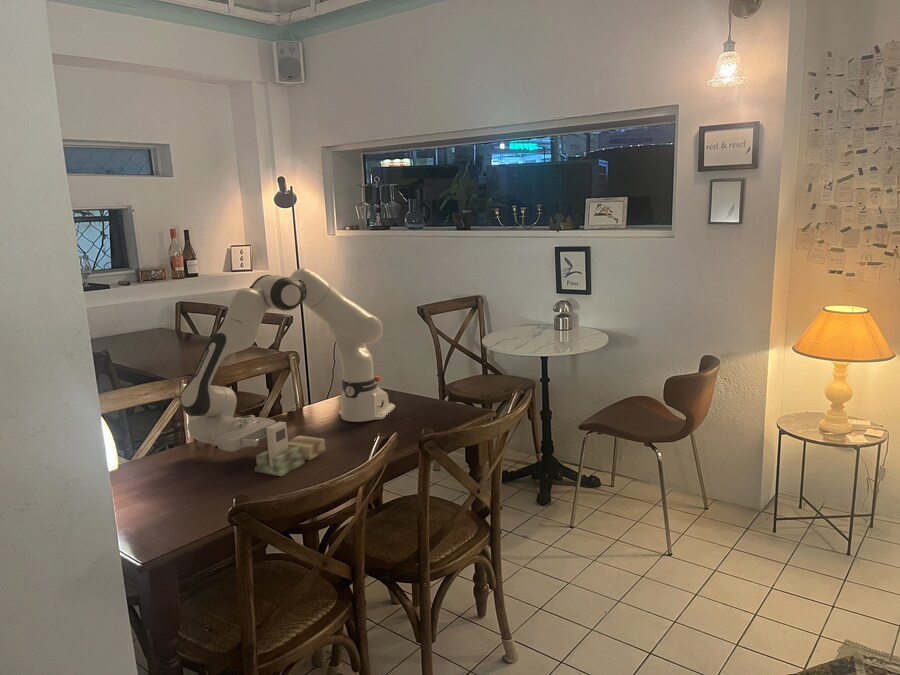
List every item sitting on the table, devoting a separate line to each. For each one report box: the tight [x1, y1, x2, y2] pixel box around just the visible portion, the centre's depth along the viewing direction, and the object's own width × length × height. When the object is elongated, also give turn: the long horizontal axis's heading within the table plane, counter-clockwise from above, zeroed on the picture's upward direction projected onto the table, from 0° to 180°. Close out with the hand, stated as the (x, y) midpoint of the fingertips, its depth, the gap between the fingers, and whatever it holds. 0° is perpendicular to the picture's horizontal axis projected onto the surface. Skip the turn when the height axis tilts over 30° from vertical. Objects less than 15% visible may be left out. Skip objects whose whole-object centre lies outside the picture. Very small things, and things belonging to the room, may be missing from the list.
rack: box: [253, 446, 306, 477], centre depth 203 cm, size 11×10×5 cm
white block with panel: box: [266, 421, 289, 467], centre depth 202 cm, size 6×3×12 cm, turn 154°
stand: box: [288, 434, 326, 461], centre depth 214 cm, size 8×10×4 cm
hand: (268, 437), depth 203 cm, fingers open, 8 cm apart
